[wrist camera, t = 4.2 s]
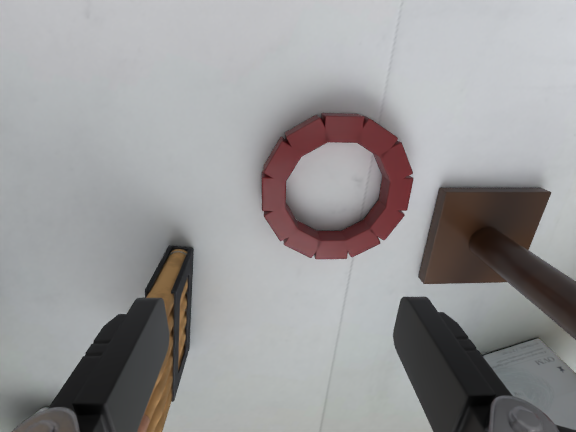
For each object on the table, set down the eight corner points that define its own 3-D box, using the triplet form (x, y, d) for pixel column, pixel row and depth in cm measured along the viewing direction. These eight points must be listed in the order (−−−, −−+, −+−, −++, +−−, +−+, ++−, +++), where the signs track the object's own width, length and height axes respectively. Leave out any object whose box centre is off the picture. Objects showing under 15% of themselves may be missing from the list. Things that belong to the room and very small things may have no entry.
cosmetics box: (538, 333, 30) (666, 454, 20) (541, 375, 32) (656, 499, 23) (433, 368, 31) (508, 498, 21) (444, 405, 34) (516, 536, 24)
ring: (262, 249, 24) (262, 260, 23) (261, 111, 20) (260, 114, 18) (390, 247, 25) (398, 258, 23) (414, 114, 20) (426, 117, 19)
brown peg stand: (418, 277, 26) (527, 420, 15) (439, 187, 23) (598, 288, 12) (507, 275, 27) (675, 413, 16) (540, 187, 23) (782, 284, 12)
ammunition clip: (168, 244, 23) (83, 392, 12) (193, 247, 23) (131, 394, 13) (168, 348, 27) (103, 526, 17) (189, 349, 28) (139, 526, 17)
